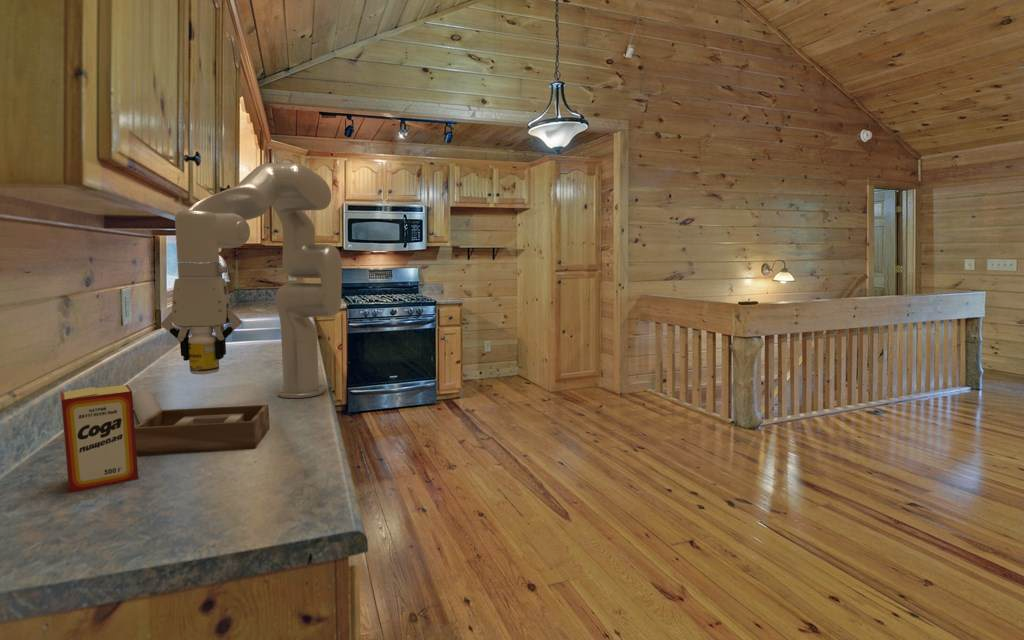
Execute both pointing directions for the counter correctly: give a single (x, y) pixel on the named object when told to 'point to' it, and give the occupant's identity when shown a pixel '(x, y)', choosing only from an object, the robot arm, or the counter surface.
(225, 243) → the robot arm
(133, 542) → the counter surface
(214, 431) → the crate
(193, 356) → the supplement bottle
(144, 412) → the tube
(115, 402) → the baking soda box
